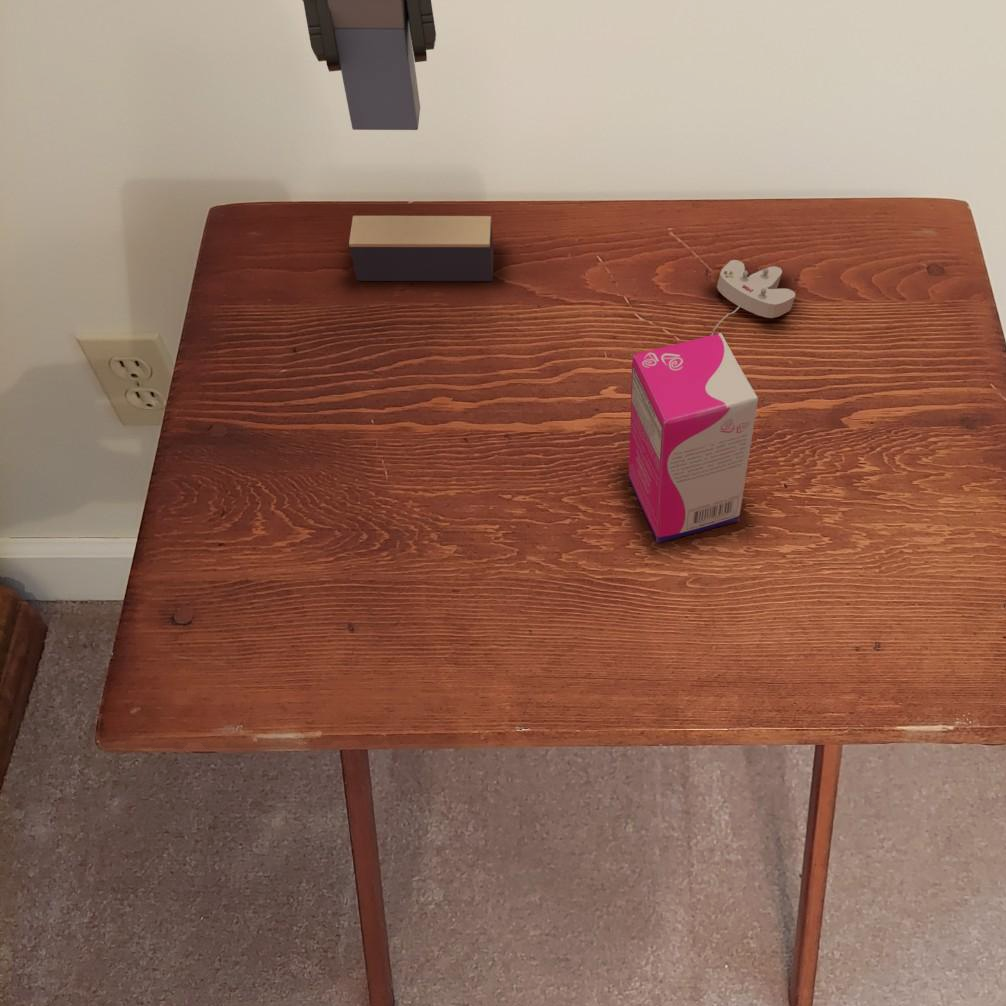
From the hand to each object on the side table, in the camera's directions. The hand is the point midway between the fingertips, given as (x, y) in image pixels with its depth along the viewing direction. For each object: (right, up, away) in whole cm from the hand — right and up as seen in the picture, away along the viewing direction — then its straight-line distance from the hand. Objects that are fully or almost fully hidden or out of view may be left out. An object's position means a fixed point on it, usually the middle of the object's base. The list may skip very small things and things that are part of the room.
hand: (376, 62), depth 67 cm
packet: (0, -1, +5) cm, 5 cm away
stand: (0, -6, +20) cm, 21 cm away
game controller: (+22, -11, +18) cm, 30 cm away
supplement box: (+18, -24, +9) cm, 32 cm away
